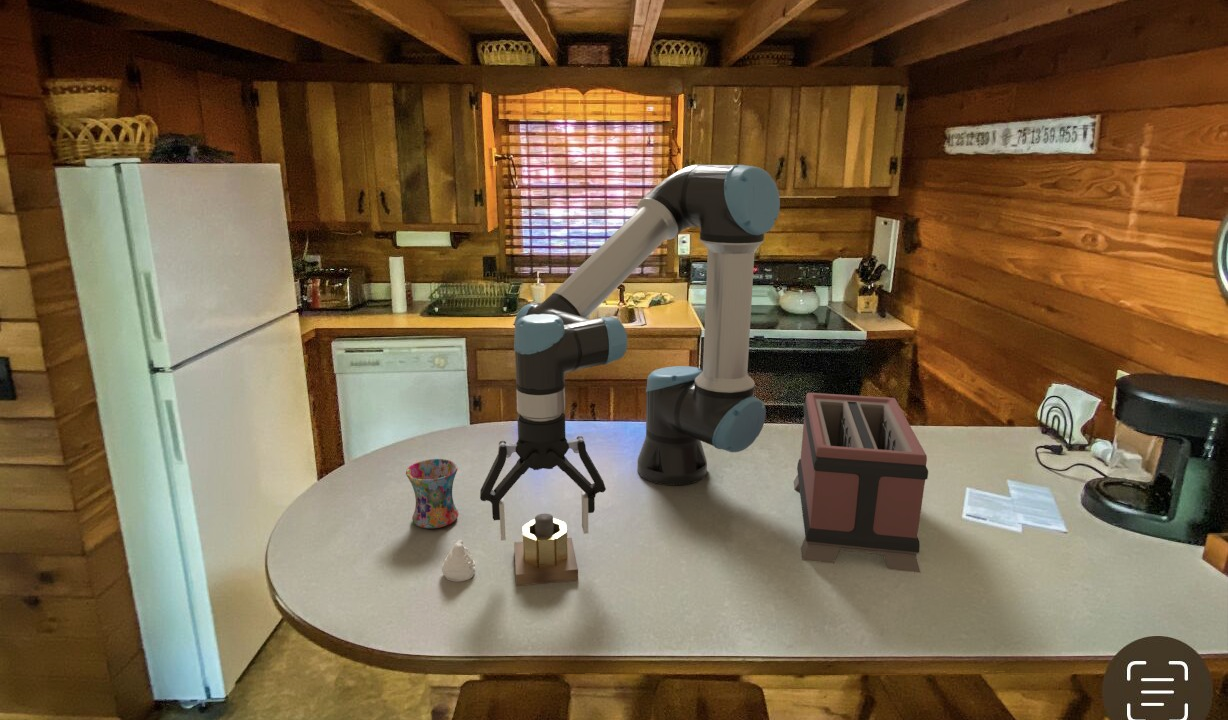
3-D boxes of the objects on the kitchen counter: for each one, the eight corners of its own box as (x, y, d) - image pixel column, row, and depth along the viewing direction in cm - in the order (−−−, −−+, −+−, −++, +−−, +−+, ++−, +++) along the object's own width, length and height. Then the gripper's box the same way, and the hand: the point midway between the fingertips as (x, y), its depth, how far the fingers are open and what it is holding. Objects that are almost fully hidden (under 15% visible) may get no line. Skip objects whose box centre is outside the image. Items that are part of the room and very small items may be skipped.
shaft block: (571, 547, 127) (571, 501, 124) (578, 580, 117) (577, 530, 115) (514, 552, 125) (512, 505, 123) (516, 585, 116) (514, 535, 113)
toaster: (886, 483, 152) (897, 391, 146) (920, 573, 120) (936, 459, 114) (792, 475, 155) (800, 385, 150) (801, 560, 123) (811, 450, 118)
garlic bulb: (470, 551, 115) (436, 550, 115) (471, 584, 116) (438, 583, 116) (477, 533, 120) (444, 533, 120) (479, 565, 122) (447, 564, 122)
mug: (452, 534, 131) (448, 481, 128) (402, 531, 132) (398, 479, 129) (470, 503, 143) (467, 453, 140) (425, 501, 143) (421, 451, 140)
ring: (564, 542, 125) (564, 516, 123) (568, 565, 118) (568, 538, 116) (522, 545, 124) (522, 519, 122) (524, 569, 117) (523, 541, 115)
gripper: (615, 400, 119) (614, 516, 125) (461, 409, 115) (468, 527, 121) (623, 417, 112) (622, 538, 118) (459, 426, 108) (467, 551, 114)
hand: (544, 533), depth 120 cm, fingers open, 13 cm apart
